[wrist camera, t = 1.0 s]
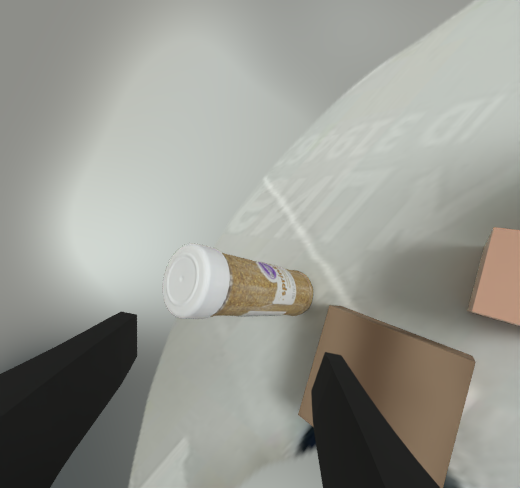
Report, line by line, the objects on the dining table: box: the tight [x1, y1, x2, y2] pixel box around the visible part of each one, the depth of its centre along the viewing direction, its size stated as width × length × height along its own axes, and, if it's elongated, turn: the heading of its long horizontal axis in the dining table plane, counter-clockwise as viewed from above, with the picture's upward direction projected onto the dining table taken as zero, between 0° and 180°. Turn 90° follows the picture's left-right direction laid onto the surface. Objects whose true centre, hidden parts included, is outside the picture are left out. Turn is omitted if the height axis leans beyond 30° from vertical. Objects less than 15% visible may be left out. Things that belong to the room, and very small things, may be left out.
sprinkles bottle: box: [163, 243, 313, 319], centre depth 19 cm, size 5×5×14 cm
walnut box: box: [298, 305, 475, 488], centre depth 18 cm, size 9×9×3 cm
